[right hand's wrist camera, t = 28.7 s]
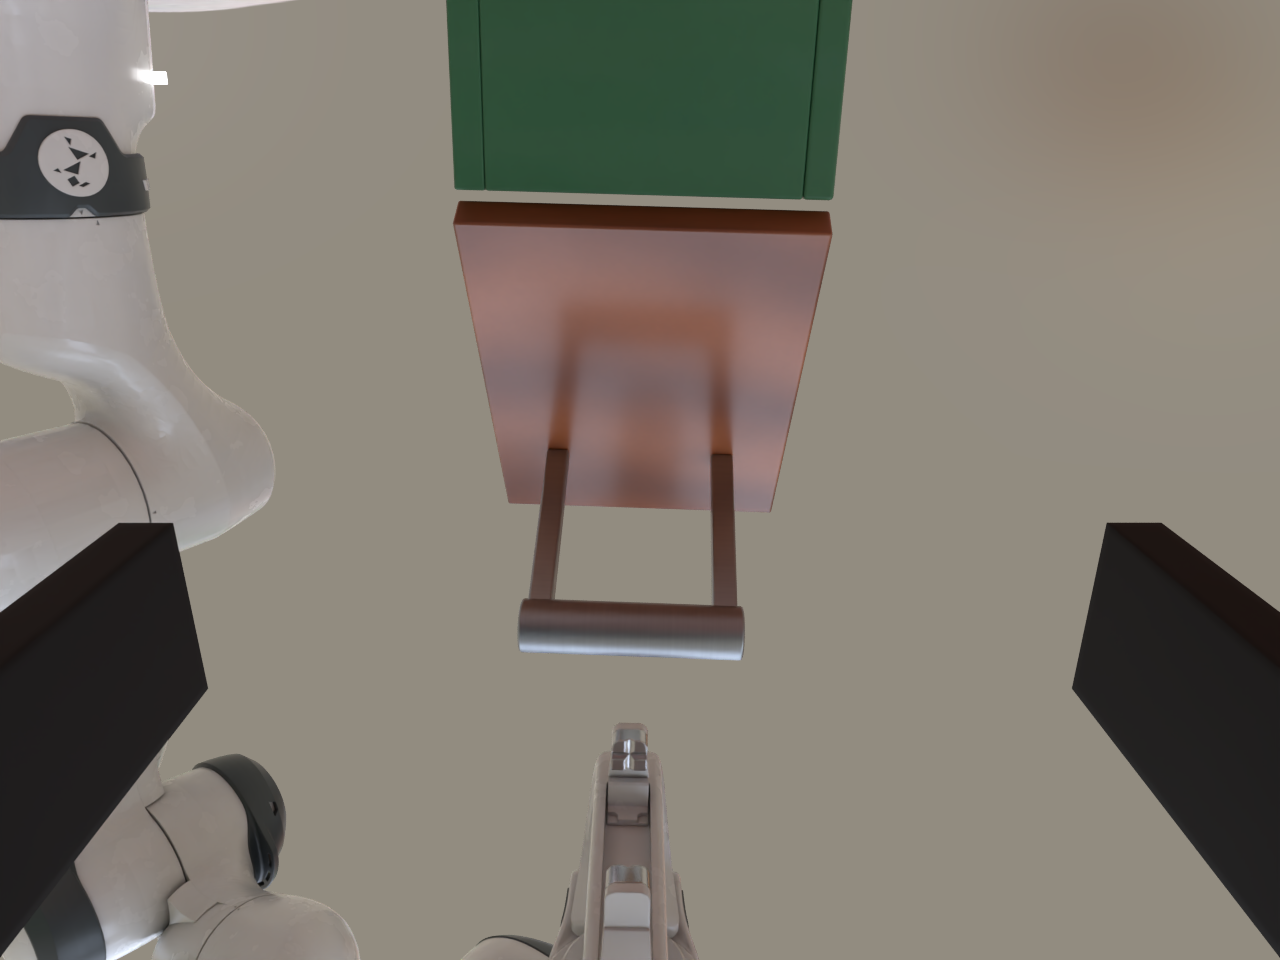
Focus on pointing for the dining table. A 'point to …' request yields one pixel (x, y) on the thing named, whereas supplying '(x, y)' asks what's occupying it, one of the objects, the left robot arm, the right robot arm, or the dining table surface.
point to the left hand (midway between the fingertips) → (629, 796)
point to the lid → (640, 385)
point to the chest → (648, 96)
